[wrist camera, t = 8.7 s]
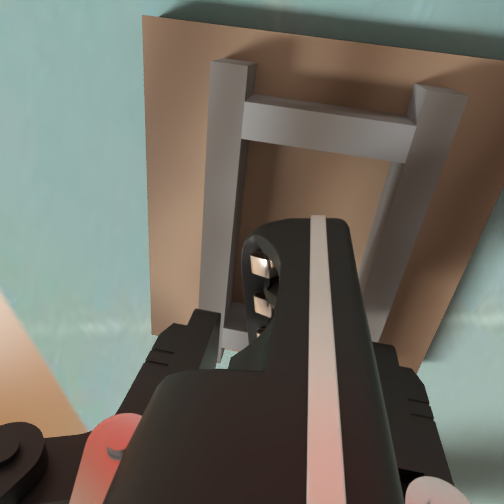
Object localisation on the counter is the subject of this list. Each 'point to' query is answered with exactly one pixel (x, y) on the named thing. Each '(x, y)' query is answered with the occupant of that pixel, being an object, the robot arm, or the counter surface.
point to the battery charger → (275, 392)
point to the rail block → (316, 167)
